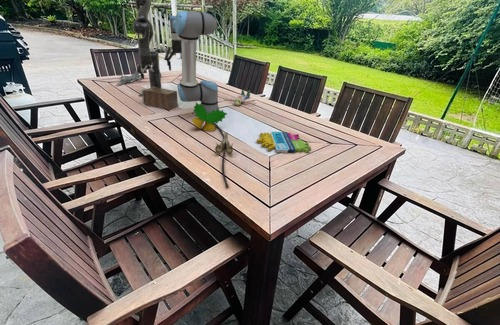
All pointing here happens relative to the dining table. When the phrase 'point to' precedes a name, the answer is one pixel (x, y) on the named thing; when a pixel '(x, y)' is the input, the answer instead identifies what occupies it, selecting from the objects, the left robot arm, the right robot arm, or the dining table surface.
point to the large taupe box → (161, 98)
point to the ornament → (207, 117)
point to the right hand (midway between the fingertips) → (178, 69)
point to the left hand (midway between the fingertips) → (147, 78)
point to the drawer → (143, 96)
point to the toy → (241, 99)
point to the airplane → (129, 78)
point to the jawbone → (224, 145)
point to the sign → (283, 142)
